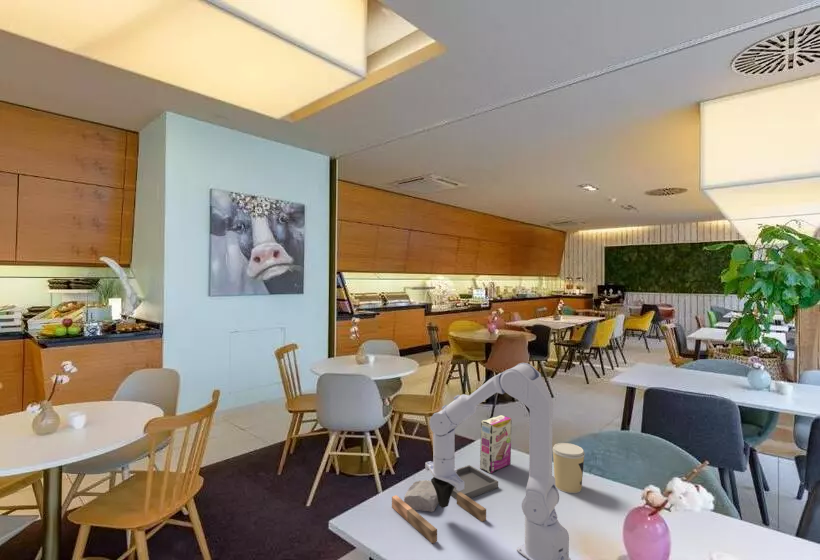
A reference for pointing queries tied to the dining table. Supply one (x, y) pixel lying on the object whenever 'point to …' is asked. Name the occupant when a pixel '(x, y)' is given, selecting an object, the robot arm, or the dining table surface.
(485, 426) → the candy bar box
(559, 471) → the coffee cup
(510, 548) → the dining table surface
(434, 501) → the stone block
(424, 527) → the pair of wooden bars
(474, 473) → the tray
